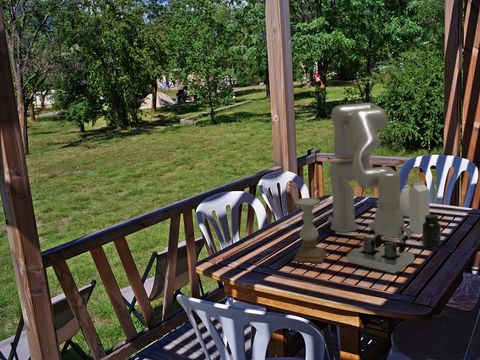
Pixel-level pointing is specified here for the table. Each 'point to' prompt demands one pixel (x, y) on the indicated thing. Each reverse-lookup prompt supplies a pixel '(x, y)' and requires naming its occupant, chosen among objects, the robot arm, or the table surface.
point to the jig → (378, 257)
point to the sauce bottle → (405, 200)
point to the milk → (418, 206)
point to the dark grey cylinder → (390, 250)
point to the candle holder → (309, 234)
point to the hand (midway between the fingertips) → (390, 249)
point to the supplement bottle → (431, 231)
